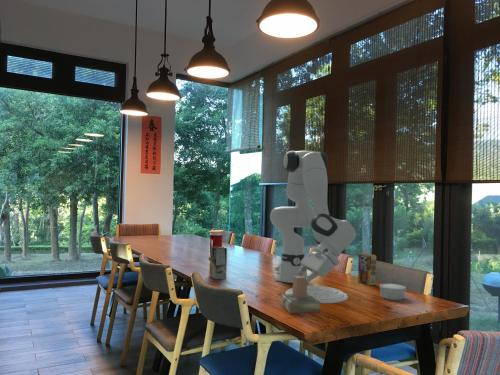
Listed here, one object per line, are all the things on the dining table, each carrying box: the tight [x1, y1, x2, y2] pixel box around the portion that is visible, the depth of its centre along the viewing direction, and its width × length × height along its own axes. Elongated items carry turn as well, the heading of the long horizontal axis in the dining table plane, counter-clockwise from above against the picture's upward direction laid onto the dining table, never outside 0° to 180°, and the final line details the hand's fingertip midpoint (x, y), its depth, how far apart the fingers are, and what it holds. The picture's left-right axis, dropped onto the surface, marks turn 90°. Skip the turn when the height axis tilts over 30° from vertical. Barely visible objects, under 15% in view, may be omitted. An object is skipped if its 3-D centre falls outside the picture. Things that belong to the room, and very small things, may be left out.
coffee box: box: [209, 245, 228, 280], centre depth 213 cm, size 9×6×16 cm
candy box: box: [357, 252, 377, 286], centre depth 207 cm, size 9×4×15 cm, turn 29°
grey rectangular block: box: [292, 276, 308, 299], centre depth 159 cm, size 4×4×8 cm
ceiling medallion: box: [284, 284, 349, 304], centre depth 180 cm, size 28×28×3 cm
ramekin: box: [379, 283, 407, 301], centre depth 179 cm, size 11×11×5 cm
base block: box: [280, 293, 321, 314], centre depth 159 cm, size 12×12×4 cm
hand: (302, 278), depth 159 cm, fingers open, 8 cm apart
